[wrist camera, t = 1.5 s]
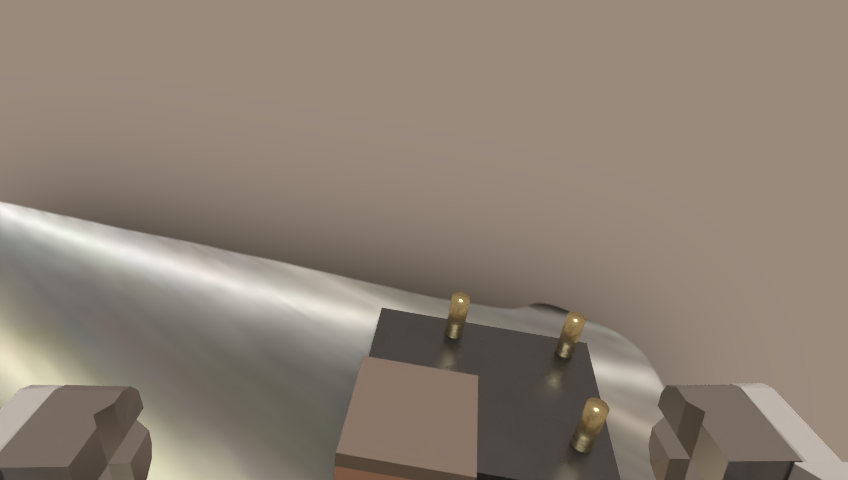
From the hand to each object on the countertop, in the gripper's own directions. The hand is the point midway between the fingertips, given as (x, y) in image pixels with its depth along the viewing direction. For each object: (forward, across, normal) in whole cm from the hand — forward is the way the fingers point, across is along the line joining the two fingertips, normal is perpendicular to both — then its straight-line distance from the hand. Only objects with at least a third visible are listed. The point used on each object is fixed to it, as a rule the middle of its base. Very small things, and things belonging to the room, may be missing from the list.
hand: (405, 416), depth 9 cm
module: (+13, +1, +21) cm, 25 cm away
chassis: (+24, -6, +20) cm, 32 cm away
